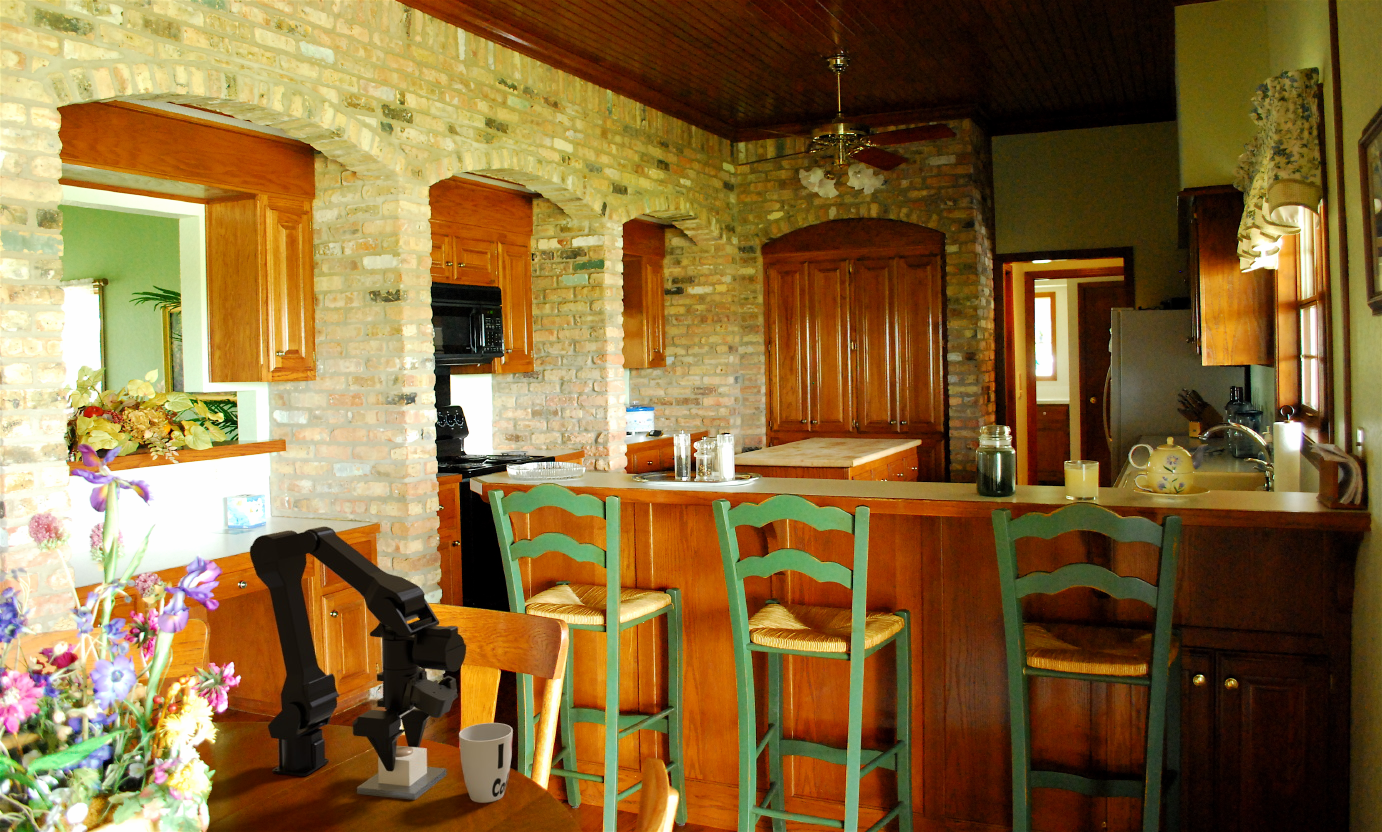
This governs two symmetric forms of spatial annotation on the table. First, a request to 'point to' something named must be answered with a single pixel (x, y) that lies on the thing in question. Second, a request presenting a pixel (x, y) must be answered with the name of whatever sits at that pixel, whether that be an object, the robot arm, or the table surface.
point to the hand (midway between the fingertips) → (402, 762)
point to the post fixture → (402, 791)
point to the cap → (405, 766)
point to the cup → (486, 760)
